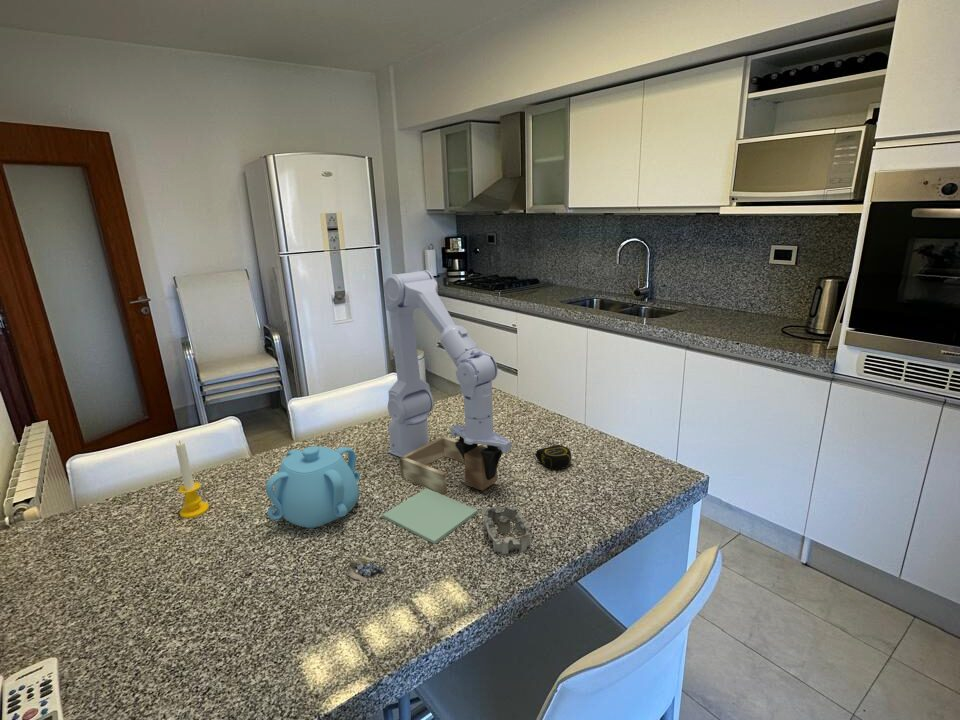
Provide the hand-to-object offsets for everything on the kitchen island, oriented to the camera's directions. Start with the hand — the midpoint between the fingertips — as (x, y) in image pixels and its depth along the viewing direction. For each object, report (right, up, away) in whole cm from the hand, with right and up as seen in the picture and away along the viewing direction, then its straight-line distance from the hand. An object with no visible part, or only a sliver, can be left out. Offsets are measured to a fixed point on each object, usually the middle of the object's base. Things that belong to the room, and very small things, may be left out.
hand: (481, 474), depth 107 cm
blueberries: (-18, -11, -23) cm, 31 cm away
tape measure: (+16, 0, +10) cm, 19 cm away
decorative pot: (-32, -6, -6) cm, 33 cm away
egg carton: (+4, -8, -16) cm, 18 cm away
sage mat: (-10, -6, -9) cm, 14 cm away
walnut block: (0, -2, +1) cm, 2 cm away
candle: (-58, -7, -4) cm, 58 cm away
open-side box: (-8, -1, +7) cm, 11 cm away
